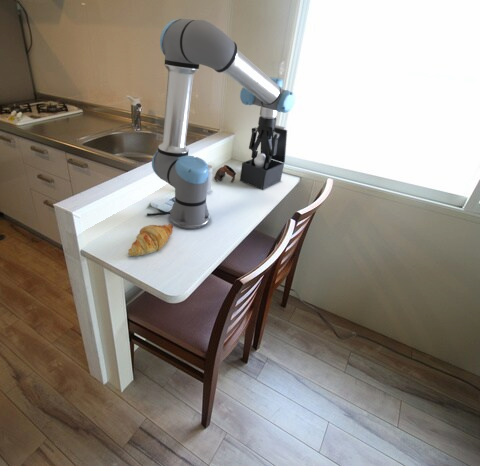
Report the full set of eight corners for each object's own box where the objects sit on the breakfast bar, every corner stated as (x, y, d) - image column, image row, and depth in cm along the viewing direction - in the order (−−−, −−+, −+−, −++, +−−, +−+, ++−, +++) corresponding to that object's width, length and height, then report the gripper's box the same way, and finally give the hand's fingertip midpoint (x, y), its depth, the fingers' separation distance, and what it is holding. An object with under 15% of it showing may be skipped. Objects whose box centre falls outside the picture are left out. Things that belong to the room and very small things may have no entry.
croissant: (136, 270, 102) (144, 257, 96) (115, 248, 103) (122, 234, 98) (177, 240, 116) (185, 227, 111) (157, 221, 118) (165, 207, 112)
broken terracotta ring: (216, 175, 164) (226, 162, 160) (230, 187, 162) (240, 175, 158) (207, 177, 153) (217, 163, 149) (221, 190, 151) (232, 176, 148)
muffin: (266, 170, 150) (269, 155, 147) (253, 169, 151) (256, 154, 147) (264, 165, 156) (267, 151, 152) (252, 164, 156) (254, 150, 152)
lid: (286, 130, 143) (292, 126, 146) (260, 124, 151) (267, 120, 154) (284, 163, 155) (289, 158, 157) (260, 155, 162) (266, 150, 165)
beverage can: (197, 187, 149) (199, 163, 142) (211, 189, 148) (213, 164, 142) (195, 193, 144) (197, 168, 137) (210, 195, 143) (212, 169, 136)
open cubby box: (262, 189, 150) (266, 171, 145) (239, 180, 158) (242, 162, 153) (280, 181, 160) (284, 163, 155) (257, 173, 168) (260, 155, 163)
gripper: (291, 120, 137) (281, 171, 150) (255, 111, 148) (247, 159, 161) (282, 122, 133) (272, 174, 145) (245, 113, 144) (238, 163, 156)
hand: (259, 166), depth 153 cm, fingers closed on muffin, 6 cm apart
